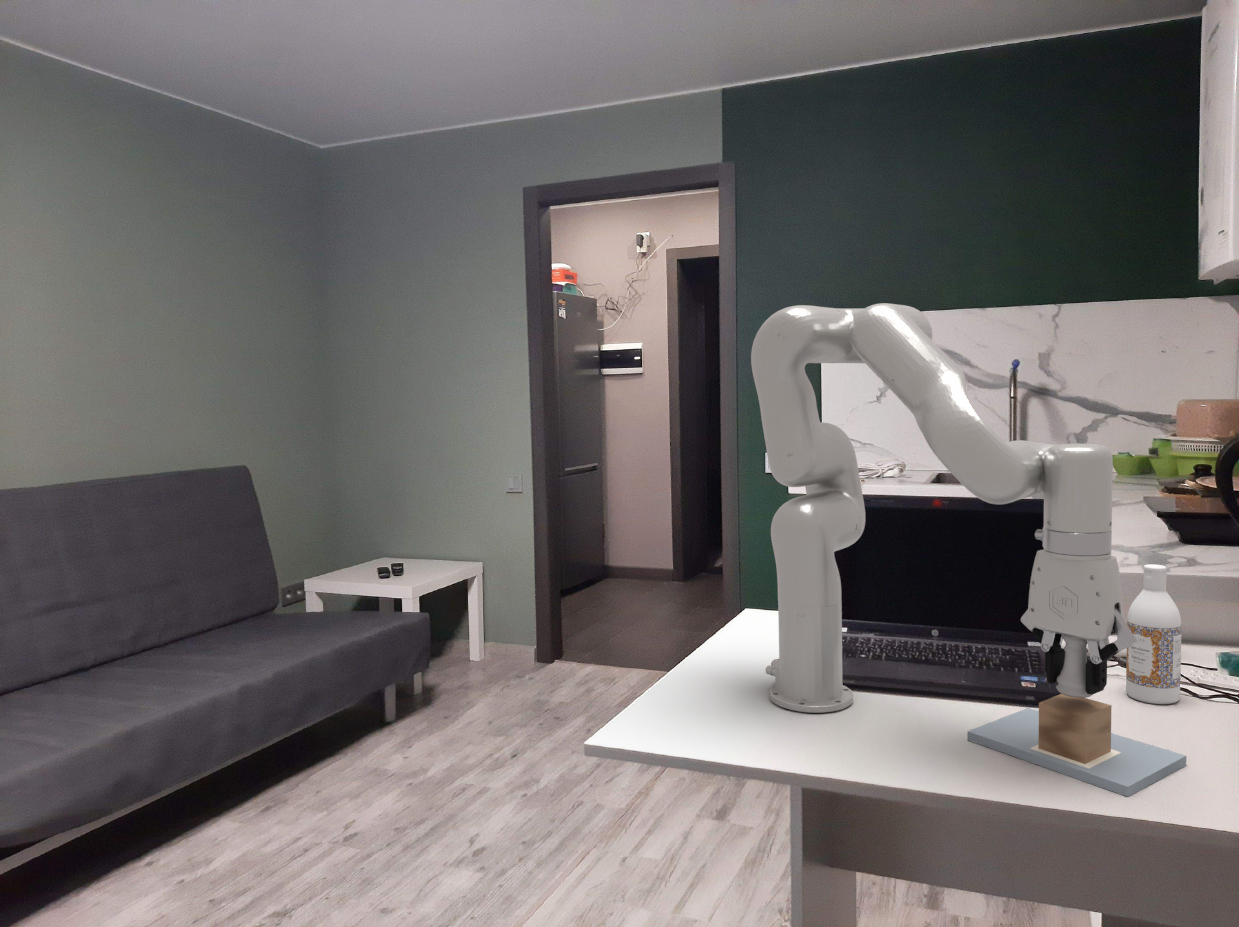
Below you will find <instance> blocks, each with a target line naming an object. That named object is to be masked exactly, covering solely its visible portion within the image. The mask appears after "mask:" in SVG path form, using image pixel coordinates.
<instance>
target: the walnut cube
mask: <svg viewBox="0 0 1239 927" xmlns="http://www.w3.org/2000/svg"><path fill="white" fill-rule="evenodd" d="M1038 711H1039V749H1042V750H1045V751H1048V752H1051V753H1054V754H1057V755H1059V756H1062V757H1065V758H1068V759H1071V760H1074V761H1077V762H1080V763H1083V764H1086V763H1088V762H1090V761H1093V760H1095V759H1097V758H1099V757H1101V756H1103V755H1105V754H1107V753H1109V752H1111V733H1112V704H1110V703H1109V704H1108V703H1104V702H1101V701H1097V700H1094V699H1090V698H1088V697H1086V698H1077V697H1070V696H1066V695H1063V694H1061V693H1060V694H1058V695H1055V696H1052V697H1050V698H1047V699H1046V700H1045V699H1044V700H1042V701H1040V702H1038Z"/></svg>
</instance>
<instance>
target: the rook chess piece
mask: <svg viewBox="0 0 1239 927" xmlns="http://www.w3.org/2000/svg"><path fill="white" fill-rule="evenodd" d="M1062 638H1063V641H1064V643H1065V645H1064V647H1063V649H1064V650H1065V660H1064V666H1063V669H1062V671H1060V672H1061V674H1060V675H1059V676H1057V682H1056V683H1058V684H1056V685H1055V688H1056V689H1057V692H1059V693H1060V694H1063V695H1066V696H1070V697H1077V698H1090V697H1092V696H1093V695H1091V694H1087V692H1086V691H1085V683H1086V663H1087V662H1088V660H1087V658H1088V657H1087V656H1088V653H1089V649H1088V648H1087V647H1088V644H1087V640H1085V639H1080V638H1076V637H1071V636H1066V635H1062Z"/></svg>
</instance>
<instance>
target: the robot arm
mask: <svg viewBox="0 0 1239 927" xmlns="http://www.w3.org/2000/svg"><path fill="white" fill-rule="evenodd" d="M750 353H751V354H750V361H751V362H750V364H751V372H752V377H753V382H754V385H755V390H756V394H757V397H758V398H757V399H758V402H759V403H758V404H759V410H760V417H761V418H760V419H761V424H762V430H763V437H764V442H765V447H766V455H767V462H768V465H769V468H770V469H769V470H770V471H771V475H772V476H773V478H774V479H775V480H776V482H778V483H779V484H781V485H783V486H785V487H789V488H801V487H804V488H805V493H806V494H805V495H800V496H797V497H794V498H791V499H789V500H788V501H786V502H784V503H783V504H782V505H781V506H780V507H779V508H778V509H777V510H776V512H775V513H774V515H773V517H772V520H771V524H770V537H771V538H770V540H771V545H772V550H773V554H774V560H775V566H776V578H777V579H776V581H777V601H778V602H777V605H778V608H777V610H778V612H777V613H778V656H779V657H778V659H777V658H774V659H773V660H772V661H771V662H770V665H768V666H766V667H765V674H767V675H770V676H772V677H775V678H774V680H775V682H774V685H773V686H771V688H770V689H769V698H770V700H771V702H772V703H774V704H775V705H777V706H778V707H780V708H783V709H785V710H790V711H793V712H800V713H810V714H811V713H814V714H818V713H822V714H823V713H831V712H832V713H833V712H837V711H840V710H844V709H846V708H848V707H849V706H850V705H852V704H853V702H854V692H853V691H852V690H851V688H849V687H848V686H846V685H843V621H842V617H843V616H842V615H843V611H842V608H843V606H842V602H843V601H842V583H841V576H840V571H839V568H838V564H837V561H836V557H835V552H837V551H840V550H843V549H845V548H849V547H850V546H852V545H853V544H855V543H856V542H857V541H858V540H859V539H860V538H861V537H862V535H863V533H864V531H865V527H866V508H865V507H866V506H865V501H864V495H863V488H862V484H861V478H860V471H859V465H858V459H857V455H856V451H855V450H856V449H855V447H854V444H853V443H852V441H851V439H850V437H849V436H848V435H847V433H846V432H845V431H844V430H843V429H841V428H840V427H839V426H838V425H835V424H833V423H829V422H821V420H820V417H819V411H818V405H817V404H818V403H817V399H816V398H817V397H816V393H815V391H814V388H813V385H812V383H811V381H810V379H809V377H808V375H807V373H806V365H807V364H865V365H866V366H867V367H868V368H869V369H870V370H871V371H872V372H873V373H874V374H875V376H877V378H879V379H880V380H881V381H882V383H883V384H884V385H886V387H888V388H889V390H890V391H891V392H892V393H893V394H894V395H895V396H896V397H897V398H898V399H899V400H900V402H902V404H903V405H904V406H905V407H906V408H907V410H909V412H910V413H911V414H912V415H913V417H914V419H915V421H916V424H917V426H918V428H919V431H920V432H921V434H922V436H923V437H924V439H925V441H926V443H927V445H928V447H929V448H930V450H931V451H932V452H933V454H934V455H935V457H936V458H937V459H938V460H939V461H940V463H942V465H943V466H944V467H945V468H946V469H947V470H948V471H949V472H950V474H952V475H953V477H954V478H955V479H956V480H958V482H959V483H960V484H961V485H962V486H963V487H964V488H965V489H966V490H967V491H969V492H970V493H971V494H972V495H974V497H976V498H977V499H979V500H981V501H982V502H986V503H988V504H992V505H1007V504H1010V503H1011V504H1012V503H1014V502H1016V501H1019V500H1022V499H1026V498H1030V497H1035V496H1043V527H1042V529H1039V528H1037V529H1036V530H1035V532H1034V537H1035V539H1036V540H1038V541H1039V540H1040V541H1041V542H1042V547H1043V549H1040V550H1039V549H1038V550H1037V551H1036V554H1035V557H1034V562H1033V566H1032V570H1031V576H1030V583H1029V591H1028V606H1027V607H1028V608H1027V609H1026V611H1025V612H1024V613H1023V614H1022V615H1021V618H1020V622H1021V623H1022V625H1024V626H1025V627H1026V628H1027V629H1028V630H1029V631H1030V632H1032V635H1033V636H1034V638H1035V639H1036V640H1037V641H1038V642H1039V644H1040V648H1041V650H1042V651H1043V652H1044V659H1045V660H1044V671H1045V672H1044V673H1045V674H1046V683H1047V684H1051V685H1053V684H1056V683H1058V682H1057V676H1059V675H1060V674H1061V672H1060V671H1062V669H1063V666H1064V660H1065V650H1064V647H1062V644H1063V641H1064V640H1063V638H1062V635H1066V636H1071V637H1076V638H1080V639H1085V640H1087V647H1088V648H1087V649H1088V653H1089V659H1090V661H1087V663H1086V683H1085V691H1086V692H1087V694H1091V695H1092V696H1093V695H1095V694H1097V693H1100V692H1103V691H1104V689H1105V688H1106V686H1107V683H1108V661H1109V660H1111V659H1112V657H1114V656H1115V655H1117V654H1118V653H1120V652H1122V651H1123V650H1127V648H1128V647H1130V646H1133V645H1135V644H1136V643H1137V640H1136V638H1135V637H1134V635H1133V633H1132V632H1131V630H1130V629H1129V627H1128V625H1127V621H1125V619H1124V618H1125V617H1124V615H1125V613H1124V595H1123V585H1122V578H1121V577H1122V576H1121V571H1120V566H1119V564H1118V563H1119V562H1118V559H1117V556H1114V555H1112V539H1113V537H1112V531H1113V529H1112V528H1113V522H1112V521H1113V481H1114V480H1113V478H1114V476H1113V473H1114V472H1113V468H1114V466H1113V465H1114V463H1113V462H1114V458H1113V454H1112V451H1111V450H1110V448H1108V447H1107V446H1106V445H1102V444H1096V443H1061V444H1060V443H1059V444H1051V443H1044V442H1038V441H1037V442H1036V441H1030V440H1020V439H1018V440H1009V441H1004V440H1003V439H1002V438H1001V437H1000V436H999V435H998V434H997V433H996V432H995V431H994V430H993V429H992V428H991V427H990V426H989V425H988V424H987V422H986V421H984V420H983V418H982V417H981V416H980V415H979V414H978V413H977V411H976V410H975V409H974V407H973V406H972V404H971V402H970V400H969V397H968V395H967V388H966V387H967V386H966V384H967V382H966V381H967V380H966V375H965V373H964V371H963V369H962V368H960V366H959V365H958V364H957V363H955V361H954V360H952V358H950V357H949V355H947V354H946V353H945V352H944V351H943V350H942V349H941V347H939V346H938V345H937V344H936V342H935V341H933V330H932V326H931V323H930V321H929V319H928V317H927V316H925V314H924V313H923V312H921V311H920V310H919V309H917V308H915V307H912V306H909V305H905V304H895V303H886V302H885V303H884V302H883V303H881V302H880V303H875V304H872V305H869V306H866V307H864V308H863V307H862V308H838V307H837V308H834V307H827V306H818V305H817V306H816V305H806V304H802V305H801V304H799V305H798V304H797V305H792V306H787V307H784V308H782V309H780V310H777V311H776V312H774V313H773V314H771V315H770V316H769V317H768V318H767V319H766V320H764V321H763V323H762V324H761V326H760V327H759V329H758V330H757V332H756V334H755V337H754V339H753V343H752V346H751V352H750ZM1110 636H1116V640H1115V641H1112V642H1110V639H1109V638H1110Z"/></svg>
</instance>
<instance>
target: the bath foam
mask: <svg viewBox="0 0 1239 927" xmlns="http://www.w3.org/2000/svg"><path fill="white" fill-rule="evenodd" d="M1167 573H1168V572H1167V566H1165V565H1162V564H1156V563H1155V564H1152V563H1151V564H1150V563H1148V564H1144V565H1143V576H1142V577H1143V580H1142V581H1143V583H1142V584H1143V586H1142V587H1143V588H1142V590H1141V591H1140V592H1139V594H1138V595H1137V596H1136V597H1135V598H1134V600H1133V601H1132V603H1131V605H1130V606H1129V609H1128V613H1127V618H1126V624H1127V625H1128V627H1129V629H1130V630H1131V632H1132V633H1133V635H1134V637H1135V638H1136V640H1137V643H1136V644H1135V645H1133V646H1130V647H1128V648H1126V661H1125V662H1126V664H1125V665H1126V666H1125V667H1126V668H1125V670H1126V671H1125V675H1126V676H1125V682H1126V684H1125V690H1126V693H1127V695H1128V696H1129V697H1130V698H1132V699H1134V700H1137V701H1139V702H1143V703H1147V704H1151V705H1152V704H1153V705H1171V704H1175V703H1177V702H1178V701H1180V698H1181V678H1182V677H1181V675H1182V674H1181V671H1182V666H1181V665H1182V628H1183V626H1182V617H1181V613H1180V611H1179V608H1178V606H1177V605H1176V603H1175V602H1174V600H1173V599H1172V597H1171V595H1170V594H1169V593H1168V591H1167V577H1168V576H1167Z"/></svg>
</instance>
